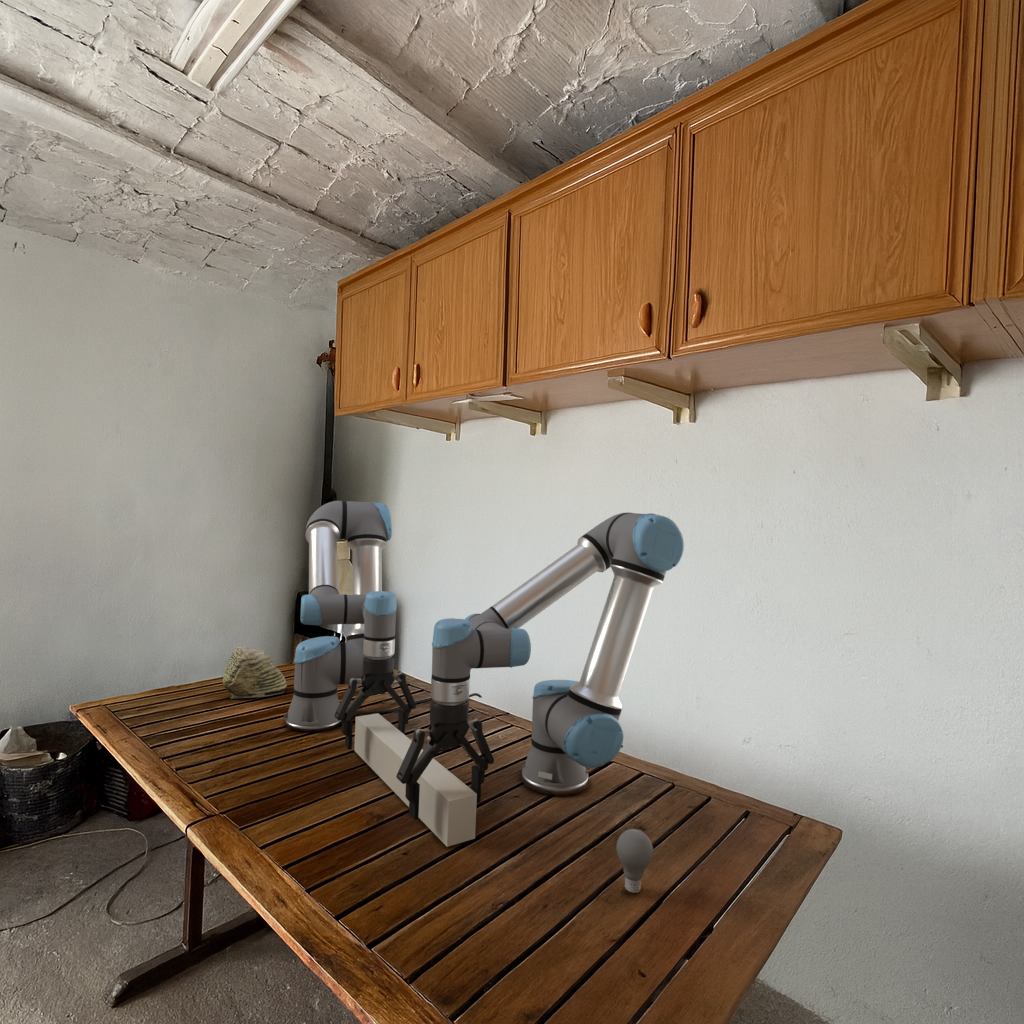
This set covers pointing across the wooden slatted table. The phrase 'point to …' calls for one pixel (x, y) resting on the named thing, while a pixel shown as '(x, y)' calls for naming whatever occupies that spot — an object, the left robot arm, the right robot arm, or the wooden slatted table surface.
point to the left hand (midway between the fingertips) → (375, 742)
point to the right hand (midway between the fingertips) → (445, 808)
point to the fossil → (252, 674)
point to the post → (441, 792)
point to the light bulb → (634, 857)
